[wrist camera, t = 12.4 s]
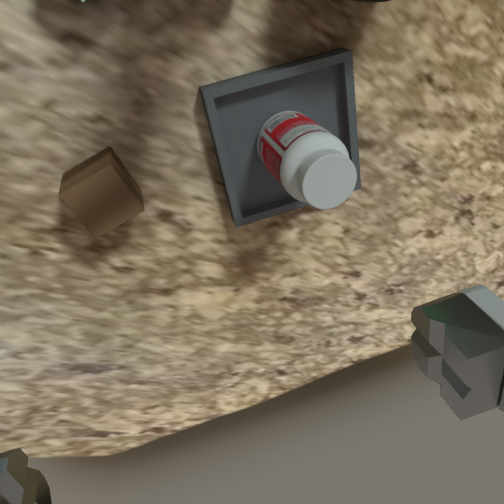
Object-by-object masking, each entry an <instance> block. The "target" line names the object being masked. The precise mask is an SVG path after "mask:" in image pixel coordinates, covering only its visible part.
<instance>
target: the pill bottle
mask: <svg viewBox="0 0 504 504" xmlns="http://www.w3.org/2000/svg"><path fill="white" fill-rule="evenodd" d="M257 152H258V155H259V157H260V159H261V161H262V163H263V164H264V165H265V166H266V168H267V169H268V170H269V171H270V172H271V174H272V175H273V176H274V177H275V178H276V180H277V181H278V182H279V183H280V184H281V185H282V187H283V188H284V189H285V190H286V191H287V192H288V193H289V194H290V195H291V196H292V197H293V198H295V199H297V200H299V201H302V202H307V203H309V204H310V205H311V206H313V207H315V208H318V209H331V208H334V207H337V206H339V205H340V204H342V203H343V202H344V201H346V200H347V199H348V197H349V196H350V195H351V193H352V192H353V190H354V188H355V185H356V180H357V173H356V168H355V166H354V164H353V162H352V161H351V160H350V159H349V154H348V151H347V149H346V147H345V145H344V144H343V143H342V142H341V141H340V140H339V139H338V138H337V137H336V136H335V135H333V134H332V133H330V132H329V131H327V130H326V129H324V128H323V127H322V126H320V125H319V124H317V123H316V122H314V121H313V120H312V119H310V118H309V117H307V116H306V115H304V114H302V113H300V112H297V111H283V112H279V113H277V114H275V115H273V116H272V117H271V118H269V119H268V120H267V121H266V122H265V123H264V125H263V126H262V128H261V130H260V132H259V135H258V138H257Z"/></svg>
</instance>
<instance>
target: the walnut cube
mask: <svg viewBox="0 0 504 504" xmlns="http://www.w3.org/2000/svg"><path fill="white" fill-rule="evenodd" d="M59 197H60V198H61V199H62V200H63V201H64V202H65V204H66V205H67V206H68V207H69V208H70V209H71V211H72V212H73V213H74V214H75V215H76V216H77V217H78V219H79V220H80V221H81V222H82V223H83V224H84V226H85V227H86V228H87V229H88V230H89V231H90V233H91V234H92V235H93V236H94V237H95V238H96V239H97V238H99V237H100V236H102V235H104V234H105V233H107V232H109V231H111V230H112V229H114V228H116V227H117V226H119V225H121V224H122V223H124V222H126V221H128V220H129V219H131V218H133V217H134V216H136V215H138V214H139V213H141V212H143V211H144V205H143V199H142V193H141V188H140V187H139V186H138V184H137V183H136V181H135V180H134V179H133V177H132V176H131V175H130V173H129V172H128V170H127V169H126V168H125V166H124V165H123V163H122V162H121V161H120V159H119V158H118V157H117V155H116V154H115V152H114V151H113V150H112V148H111V147H110V146H109V147H107V148H106V149H104V150H102V151H101V152H99V153H97V154H96V155H94V156H92V157H91V158H89V159H87V160H85V161H84V162H82V163H80V164H79V165H77V166H75V167H74V168H72V169H70V170H69V171H67V172H65V173H64V174H63V176H62V181H61V186H60V190H59Z"/></svg>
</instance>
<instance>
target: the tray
mask: <svg viewBox="0 0 504 504" xmlns="http://www.w3.org/2000/svg"><path fill="white" fill-rule="evenodd" d="M199 89H200V93H201V97H202V100H203V104H204V108H205V112H206V116H207V120H208V124H209V128H210V132H211V136H212V140H213V144H214V148H215V152H216V156H217V160H218V164H219V168H220V172H221V176H222V180H223V184H224V188H225V192H226V196H227V199H228V203H229V207H230V211H231V215H232V219H233V221H234V223H235V225H236V227H239V226H242V225H246V224H249V223H252V222H255V221H258V220H262V219H265V218H268V217H271V216H274V215H278V214H281V213H284V212H287V211H291V210H294V209H297V208H300V207H303V206H307V205H310V204H309V203H307V202H302V201H299V200H297V199H295V198H293V197H292V196H291V195H290V194H289V193H288V192H287V191H286V190H285V189H284V188H283V187H282V185H281V184H280V183H279V182H278V181H277V180H276V178H275V177H274V176H273V175H272V174H271V172H270V171H269V170H268V169H267V168H266V166H265V165H264V164H263V163H262V161H261V159H260V157H259V155H258V152H257V138H258V135H259V132H260V130H261V128H262V126H263V125H264V123H265V122H266V121H267V120H268V119H269V118H271V117H272V116H273V115H275V114H277V113H279V112H283V111H297V112H300V113H302V114H304V115H306V116H307V117H309V118H310V119H312V120H313V121H314V122H316V123H317V124H319V125H320V126H322V127H323V128H324V129H326V130H327V131H329V132H330V133H332V134H333V135H335V136H336V137H337V138H338V139H339V140H340V141H341V142H342V143H343V144H344V145H345V147H346V149H347V151H348V154H349V159H350V160H351V161H352V162H353V164H354V166H355V168H356V173H357V180H356V185H355V188H354V190H353V191H355V190H358V189H361V180H360V165H359V150H358V135H357V120H356V105H355V91H354V76H353V61H352V50H349V49H346V48H341V49H337V50H333V51H330V52H326V53H322V54H319V55H315V56H311V57H308V58H304V59H300V60H297V61H293V62H289V63H286V64H282V65H278V66H274V67H271V68H267V69H263V70H260V71H256V72H252V73H249V74H245V75H241V76H238V77H234V78H230V79H227V80H223V81H219V82H216V83H212V84H208V85H205V86H201V87H199Z"/></svg>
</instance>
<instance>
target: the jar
mask: <svg viewBox="0 0 504 504" xmlns="http://www.w3.org/2000/svg"><path fill="white" fill-rule="evenodd" d="M355 1H358V2H385V1H390V0H355Z"/></svg>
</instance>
